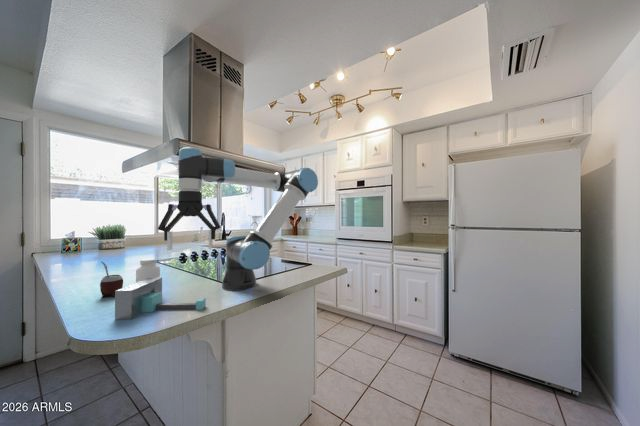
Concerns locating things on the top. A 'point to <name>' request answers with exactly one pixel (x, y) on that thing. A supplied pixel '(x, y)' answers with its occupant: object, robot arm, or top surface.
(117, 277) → the mate gourd
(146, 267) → the pill bottle
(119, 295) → the grey bridge block
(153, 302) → the teal and grey bar
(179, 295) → the top surface
